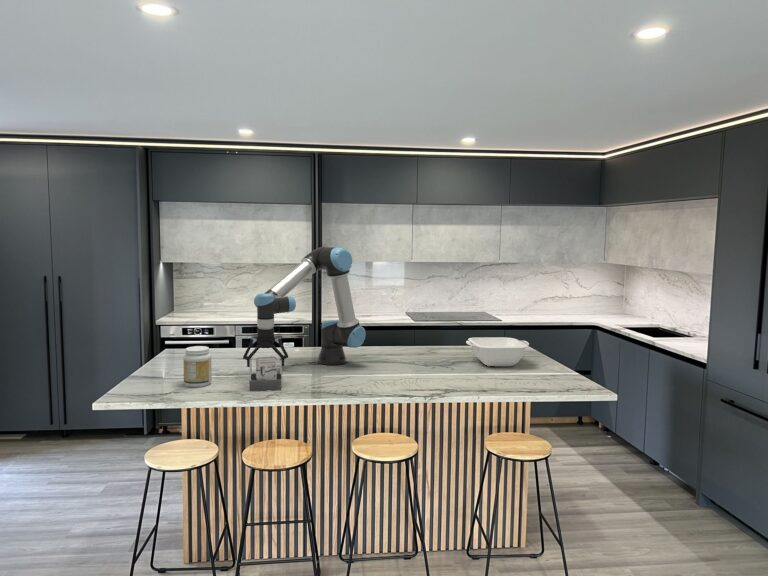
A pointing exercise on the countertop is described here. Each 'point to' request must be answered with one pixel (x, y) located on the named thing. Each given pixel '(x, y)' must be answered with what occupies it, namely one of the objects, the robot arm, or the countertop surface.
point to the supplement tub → (197, 366)
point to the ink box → (266, 368)
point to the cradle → (264, 383)
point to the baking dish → (498, 350)
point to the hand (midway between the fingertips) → (265, 373)
